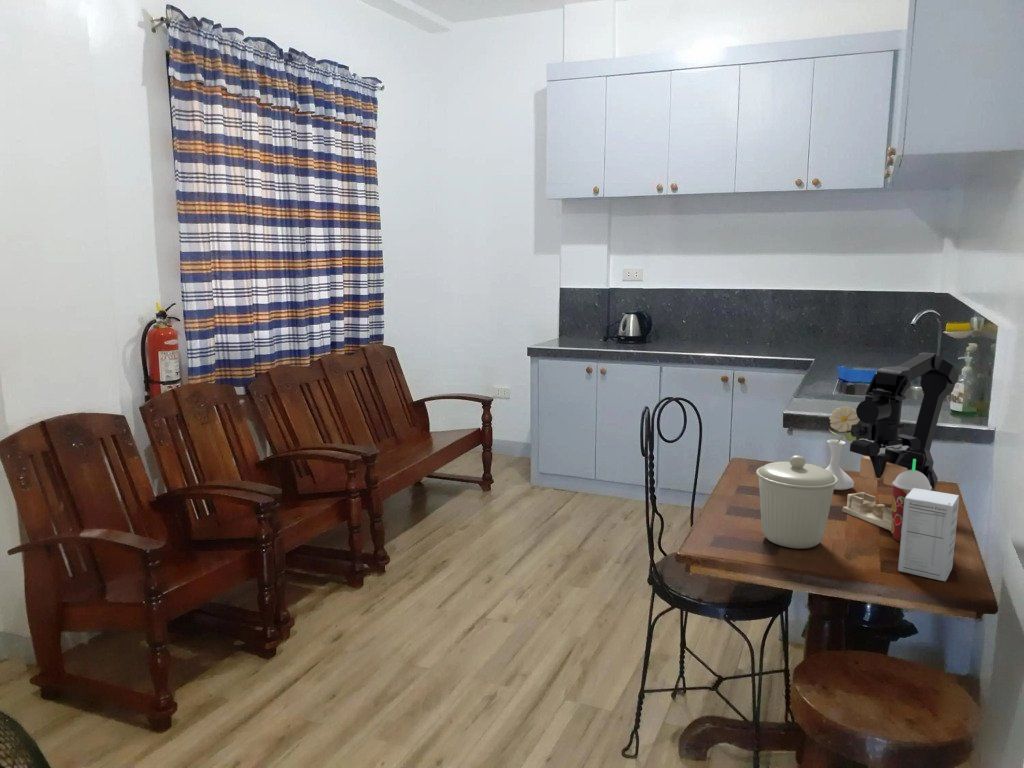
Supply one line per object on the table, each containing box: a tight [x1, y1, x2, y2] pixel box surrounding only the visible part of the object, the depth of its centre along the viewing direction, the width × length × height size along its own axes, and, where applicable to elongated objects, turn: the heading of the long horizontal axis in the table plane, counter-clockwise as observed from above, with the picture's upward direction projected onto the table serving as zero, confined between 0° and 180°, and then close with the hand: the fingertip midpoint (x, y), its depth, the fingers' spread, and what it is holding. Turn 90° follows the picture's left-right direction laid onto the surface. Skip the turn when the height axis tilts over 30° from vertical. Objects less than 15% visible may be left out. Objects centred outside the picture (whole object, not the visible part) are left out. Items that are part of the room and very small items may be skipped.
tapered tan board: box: [859, 456, 907, 487], centre depth 193 cm, size 2×12×5 cm, turn 23°
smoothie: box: [890, 459, 933, 543], centre depth 180 cm, size 8×8×20 cm
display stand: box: [841, 491, 892, 532], centre depth 195 cm, size 8×16×5 cm, turn 23°
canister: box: [755, 454, 838, 549], centre depth 178 cm, size 18×18×21 cm
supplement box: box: [897, 488, 960, 582], centre depth 163 cm, size 10×9×17 cm
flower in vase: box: [825, 405, 861, 491], centre depth 219 cm, size 13×11×25 cm
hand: (882, 477), depth 194 cm, fingers closed on tapered tan board, 2 cm apart
